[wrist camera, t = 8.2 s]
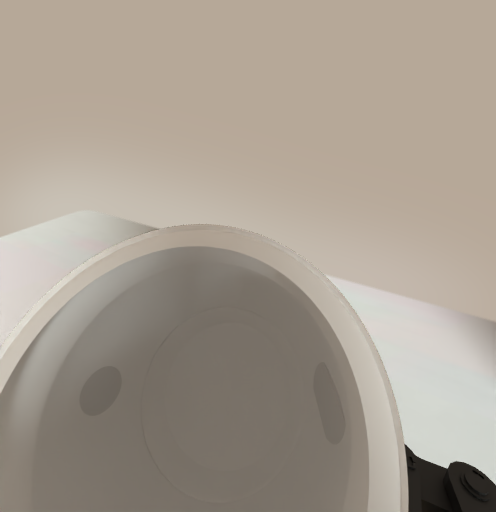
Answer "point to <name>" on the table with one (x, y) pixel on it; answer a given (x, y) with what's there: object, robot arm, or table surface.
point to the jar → (196, 386)
